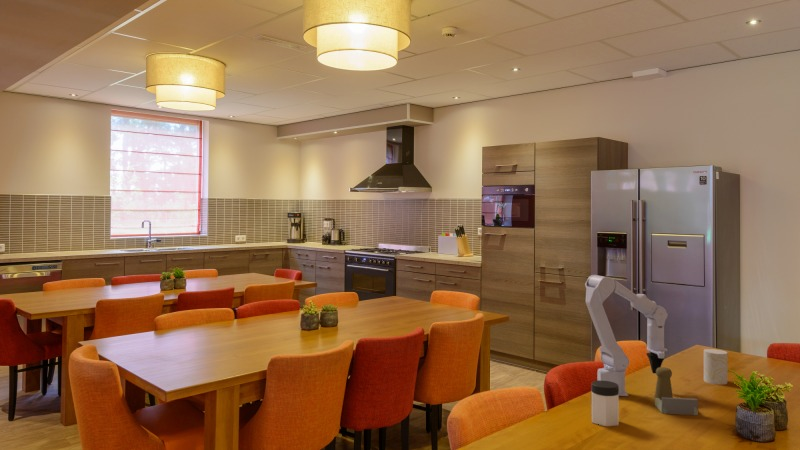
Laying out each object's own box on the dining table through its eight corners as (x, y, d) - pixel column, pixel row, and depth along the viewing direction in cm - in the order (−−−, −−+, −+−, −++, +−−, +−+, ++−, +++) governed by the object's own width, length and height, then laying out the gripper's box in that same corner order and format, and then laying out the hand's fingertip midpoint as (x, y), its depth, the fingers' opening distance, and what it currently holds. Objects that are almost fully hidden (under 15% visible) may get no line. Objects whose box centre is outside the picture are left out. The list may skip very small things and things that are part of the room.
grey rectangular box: (662, 413, 181) (662, 398, 181) (654, 405, 189) (654, 390, 189) (697, 415, 179) (697, 399, 179) (688, 406, 187) (688, 392, 187)
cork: (675, 401, 192) (675, 370, 192) (657, 400, 194) (657, 369, 194) (670, 396, 198) (670, 366, 198) (652, 395, 200) (652, 365, 200)
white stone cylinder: (705, 383, 214) (705, 352, 214) (702, 377, 222) (702, 348, 222) (729, 385, 211) (729, 354, 211) (725, 379, 219) (725, 350, 219)
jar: (599, 427, 168) (599, 388, 168) (585, 418, 176) (585, 381, 176) (625, 425, 170) (625, 386, 170) (609, 416, 178) (609, 379, 178)
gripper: (673, 341, 198) (673, 378, 198) (660, 333, 212) (660, 368, 212) (652, 340, 199) (653, 378, 199) (641, 332, 213) (641, 367, 213)
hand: (655, 373), depth 205 cm, fingers closed
